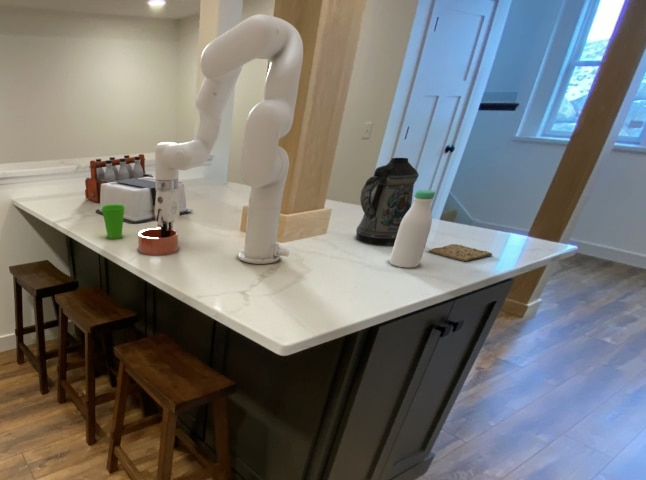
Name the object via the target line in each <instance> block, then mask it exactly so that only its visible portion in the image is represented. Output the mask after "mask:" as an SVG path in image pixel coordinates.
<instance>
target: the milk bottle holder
mask: <svg viewBox="0 0 646 480" xmlns="http://www.w3.org/2000/svg"><path fill="white" fill-rule="evenodd" d="M130 156H131V155H130V154H125V155H123V157H122V158H116V157H115V156H109V159H106V160H102V158H95V160H93V159H92V160H90V161H89V170H90V176H89V177H85V179H84V184H85V189H84V196H85V200H90V201H92V202H96V203H100V193H101V184H104V183H111V182H113V181H117V180H124V179H131V178H144V177H151V178H154V176H153V174H151V173H147V172H146V168H145V165H146V164H145V163H146V158H145V155H144V153H140V154H138V156H137V155H136V156H131V157H130ZM131 164H134V166H133V167H132V165H131ZM117 166H119V169H118V168H117ZM104 168H105V170H104Z"/></svg>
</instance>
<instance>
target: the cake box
mask: <svg viewBox="0 0 646 480" xmlns="http://www.w3.org/2000/svg"><path fill="white" fill-rule="evenodd" d="M178 192H179V215H183V214H189V213H190V212H194V210H193V209H191V208H190V209H189V208H188V207H187V199H186V198H187V197H186V189H185V183H184V182H183V181H178ZM155 201H156V177H153V178H151V177H144V178H131V179H124V180H117V181H113V182H111V183H104V184H101V193H100V202H99V208H98V209H95V212H96V213H97V214H100V215H103V212H102V209H101V207H102V206H106V205H115V204H117V205H124V206H125V208H124V217H123V222H127V223H130V224H140V223H145V222H150V221H155V222H157V221H156V219H155Z"/></svg>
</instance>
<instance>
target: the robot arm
mask: <svg viewBox="0 0 646 480" xmlns="http://www.w3.org/2000/svg"><path fill="white" fill-rule="evenodd" d="M256 59H258V60H267V61H268V62H269V68H268V71H267V74H266V76H265V77H266V78H265V81H264V92H263V97H262V101H260V102H258V103H256V104H255V105H254V107H252V109H251V110H250V111H249V114H248V116H247V118H246V120H245V125H244V133H243V140H242V148H241V157H240V164H239V165H240V166H239V167H240V176H241V180H242V181H243V182H244V184H246V186H248V187H250V190H249V191H250V192H249V197H248V205H247V214H246V215H247V216H246V224H245V225H246V228H245V234H244V235H245V236H244V246H243V250H241V251H240V252H238V259H239V260H240V261H242V262H245V263H248V264H255V265H257V264H258V265H265V264H272V263H275V262H278V261H279V260H280V256H281V257H285V258H287V257H289V256H290V250H289V249H288V248H285V247H280V246H279V245H280V242H277V241H278V233H279V225H280V220H281V219H280V217H281V211H282V205H283V197H284V192H285V187H286V183H287V178H288V176H289V175H288V173H289V170H290V158H289V154H288V152H287V151H286V149H285V148H284V147H282V146H279V143H280V140H281V139H282V138H284V137H285V136H286V135H288V134H289V132H290V131H291V129H292V128H293V127H292V126H293V123H294V117H295V111H296V106H297V105H296V104H297V98H298V93H299V86H300V80H301V74H302V67H303V61H304V44H303V39H302V36H301V33H300V32H299V31H298V29H297V28H296V27H295V26H294V25H293V24H292V23H290V22H289V21H286V20H285V19H282V18H280V17H278V16H274V15H268V14H265V13H264V14H263V13H260V14H258V13H257V14H254V15H251V16H249V17H248V18H246V19H244V20H242V21H241V22H239V23H238V24H236V25H234V26H233V27H232V28H230V29H228V30H227V31H225V32H224V33H222V34H221V35H219V36H217V37H216V38H215V39H213V40H211V41H210V42H209V43H208V44H207V45H206V47H205V48H204V49H203V51H202V54H201V56H200V61H199V62H200V63H199V66H200V71H201V73H202V75H203V76H204V79H203V81H202V84H201V87H200V88H199V91H198V93H197V95H196V99H195V107H196V109H197V111H198V114H199V121H198V126H197V129H196V132H195V134H194V136H193V138H192V140H191V141H187V142H180V143H177V142H172V141H164V142H159V143H157V144H156V145H155V148H154V153H155V155H154V157H155V159H154V160H155V161H154V162H155V163H154V164H155V165H154V166H155V178H156V201H155V219H156V221H155V222H157V225H156V226H157V228H160V230H161V238H165V237H170V230H169V229H172V230H173V228H174V222H175V221H176V220H177V219H178V218H179V217H180V214H179V192H178V182H179V171H189V170H191V169H193V168H198V167H201V166H203V165H204V164H205V163H206V162H207V160H208V159H209V157H210V155H211V153H212V151H213V149H214V147H215V145H216V143H217V140H218V138H219V134H220V129H221V123H222V115H223V112H224V110H225V108H226V105H227V103H228V101H229V99H230V96H231V95H232V92H233V90H234V87H235V86H236V84H237V81H238V79H239V76H240V74H241V72H242V70H243V67H244V65H246V64H248V63H250V62H251V61H254V60H256Z"/></svg>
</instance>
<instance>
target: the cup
mask: <svg viewBox="0 0 646 480" xmlns="http://www.w3.org/2000/svg"><path fill="white" fill-rule="evenodd" d="M124 208H125V206H124V205H117V204H115V205H106V206H102V207H101V209H102V212H103V214H102V217H103V220H104V225H105V230H106V234H107V238H108V239H110V240H118V239H121V238H122V235H123V226H124V221H123V217H124Z"/></svg>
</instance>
